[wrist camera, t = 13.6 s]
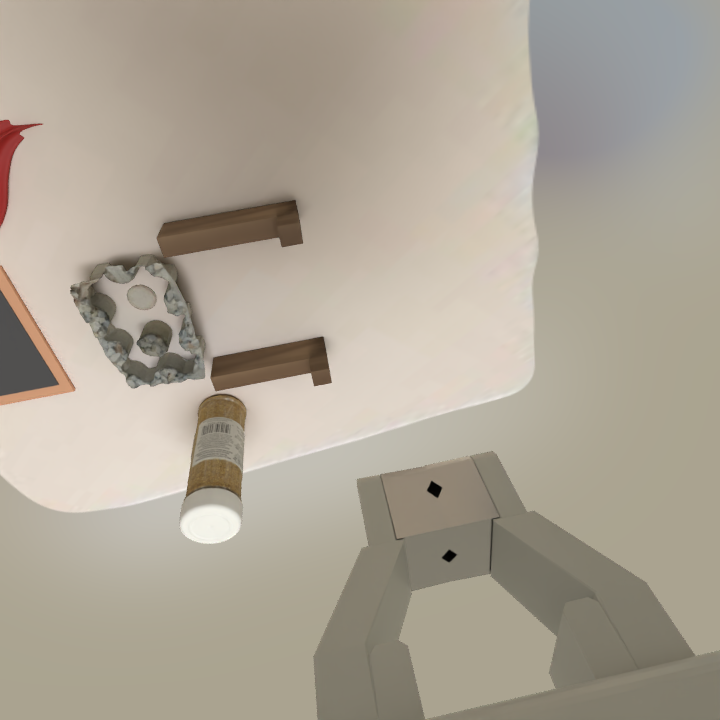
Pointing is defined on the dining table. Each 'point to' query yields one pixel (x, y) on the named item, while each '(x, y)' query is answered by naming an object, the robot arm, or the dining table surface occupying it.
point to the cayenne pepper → (8, 157)
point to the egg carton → (155, 332)
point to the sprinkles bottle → (215, 472)
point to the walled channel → (239, 231)
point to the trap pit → (25, 353)
